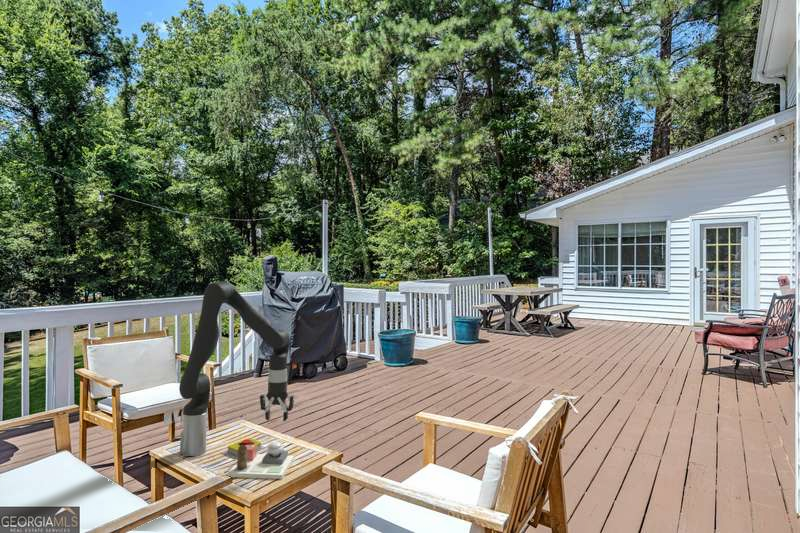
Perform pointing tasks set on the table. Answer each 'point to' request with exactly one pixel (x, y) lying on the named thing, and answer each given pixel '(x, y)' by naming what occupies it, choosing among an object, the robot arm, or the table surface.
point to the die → (251, 452)
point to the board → (264, 466)
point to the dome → (275, 449)
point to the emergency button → (234, 447)
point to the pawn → (242, 457)
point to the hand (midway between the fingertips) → (276, 420)
